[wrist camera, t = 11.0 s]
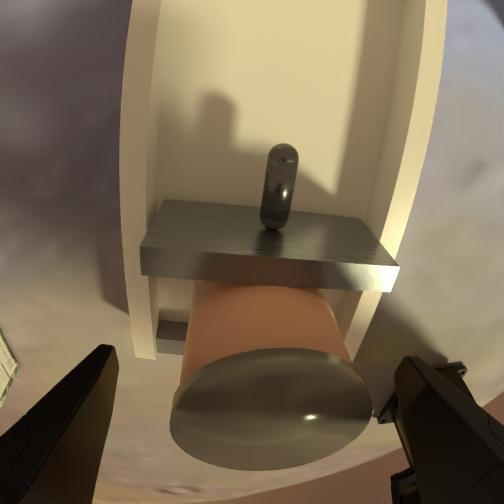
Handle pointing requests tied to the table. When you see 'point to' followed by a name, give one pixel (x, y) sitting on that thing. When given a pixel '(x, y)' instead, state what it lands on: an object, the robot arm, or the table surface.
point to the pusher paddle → (266, 241)
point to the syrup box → (6, 368)
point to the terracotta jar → (265, 379)
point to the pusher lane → (272, 126)
